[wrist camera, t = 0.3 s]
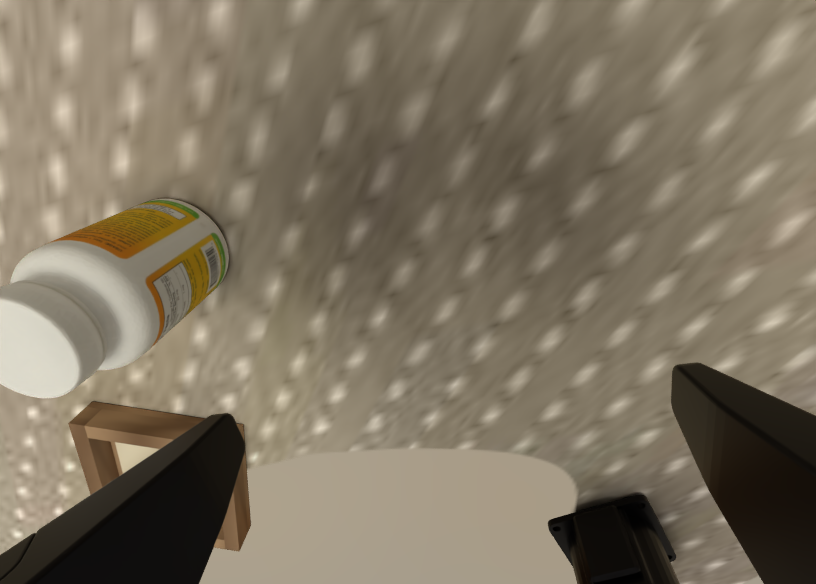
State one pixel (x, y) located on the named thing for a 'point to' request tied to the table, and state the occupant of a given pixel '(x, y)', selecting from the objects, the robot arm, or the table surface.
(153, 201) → the supplement bottle
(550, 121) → the table surface
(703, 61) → the table surface
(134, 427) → the tray
